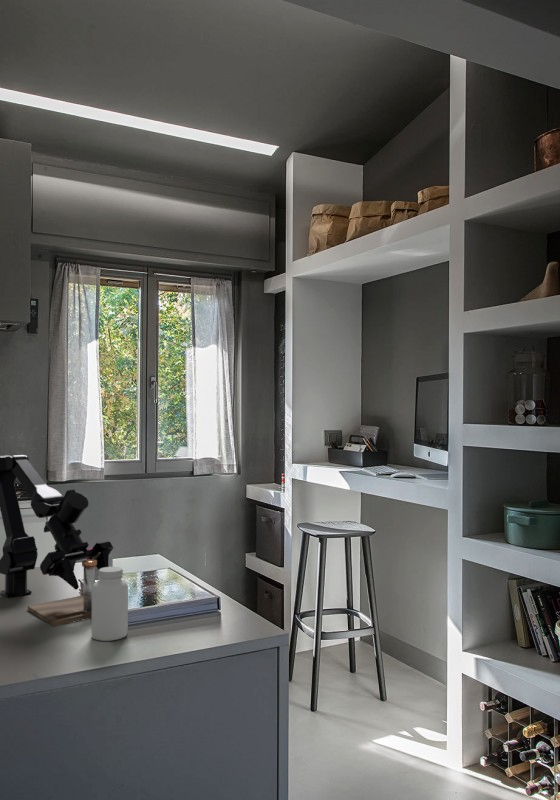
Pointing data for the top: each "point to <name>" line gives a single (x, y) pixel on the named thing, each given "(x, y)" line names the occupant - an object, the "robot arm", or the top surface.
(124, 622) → the pill bottle
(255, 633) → the top surface
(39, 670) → the top surface
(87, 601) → the capped cylinder
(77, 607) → the brown wooden flat board
